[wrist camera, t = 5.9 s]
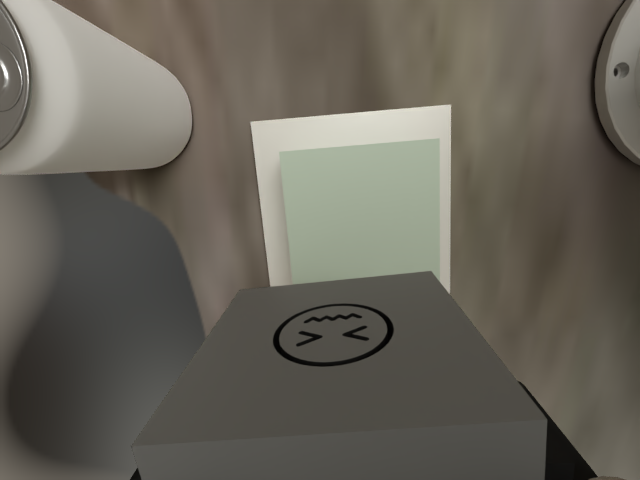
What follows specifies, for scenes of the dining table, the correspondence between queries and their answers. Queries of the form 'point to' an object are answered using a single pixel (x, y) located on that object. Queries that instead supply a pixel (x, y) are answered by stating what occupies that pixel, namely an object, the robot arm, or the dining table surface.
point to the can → (81, 97)
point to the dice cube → (345, 392)
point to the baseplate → (339, 133)
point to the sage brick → (362, 210)
